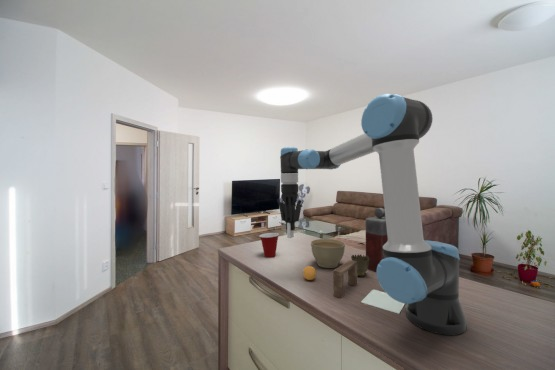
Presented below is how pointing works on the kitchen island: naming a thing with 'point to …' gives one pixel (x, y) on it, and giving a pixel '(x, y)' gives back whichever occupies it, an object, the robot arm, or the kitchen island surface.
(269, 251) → the plastic cup
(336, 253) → the planter bowl
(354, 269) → the bridge
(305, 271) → the ball
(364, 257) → the green lump
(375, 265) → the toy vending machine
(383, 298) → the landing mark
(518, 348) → the kitchen island surface
